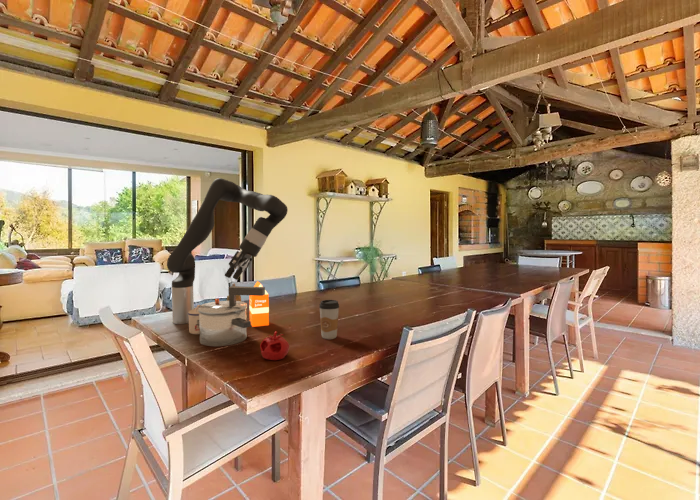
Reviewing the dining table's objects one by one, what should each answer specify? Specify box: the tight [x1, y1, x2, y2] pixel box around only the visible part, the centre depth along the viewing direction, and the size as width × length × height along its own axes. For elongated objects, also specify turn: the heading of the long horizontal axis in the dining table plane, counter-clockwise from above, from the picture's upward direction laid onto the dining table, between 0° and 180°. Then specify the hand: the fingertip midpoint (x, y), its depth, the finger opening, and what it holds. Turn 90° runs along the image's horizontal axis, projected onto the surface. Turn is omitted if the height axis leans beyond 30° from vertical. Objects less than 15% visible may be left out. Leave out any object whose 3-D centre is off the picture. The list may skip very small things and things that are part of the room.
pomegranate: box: [259, 330, 290, 361], centre depth 122 cm, size 10×10×9 cm
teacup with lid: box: [188, 304, 201, 335], centre depth 152 cm, size 12×9×12 cm
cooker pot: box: [199, 309, 252, 347], centre depth 139 cm, size 26×18×12 cm
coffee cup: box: [318, 299, 340, 340], centre depth 144 cm, size 8×8×15 cm
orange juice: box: [248, 280, 270, 328], centre depth 164 cm, size 8×9×20 cm
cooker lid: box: [198, 285, 266, 315], centre depth 140 cm, size 26×19×9 cm
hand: (230, 277), depth 134 cm, fingers open, 8 cm apart
